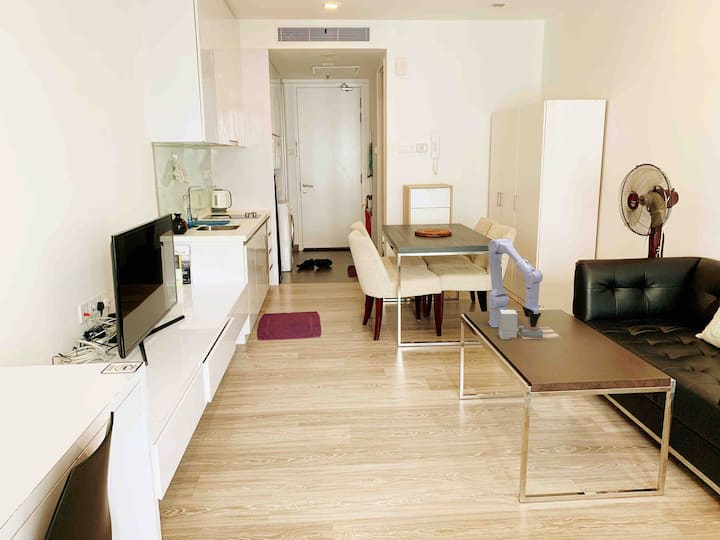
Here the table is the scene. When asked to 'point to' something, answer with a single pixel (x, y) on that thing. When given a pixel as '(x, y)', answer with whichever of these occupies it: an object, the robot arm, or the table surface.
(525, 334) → the base board
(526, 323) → the block
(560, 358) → the table surface
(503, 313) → the supplement box
